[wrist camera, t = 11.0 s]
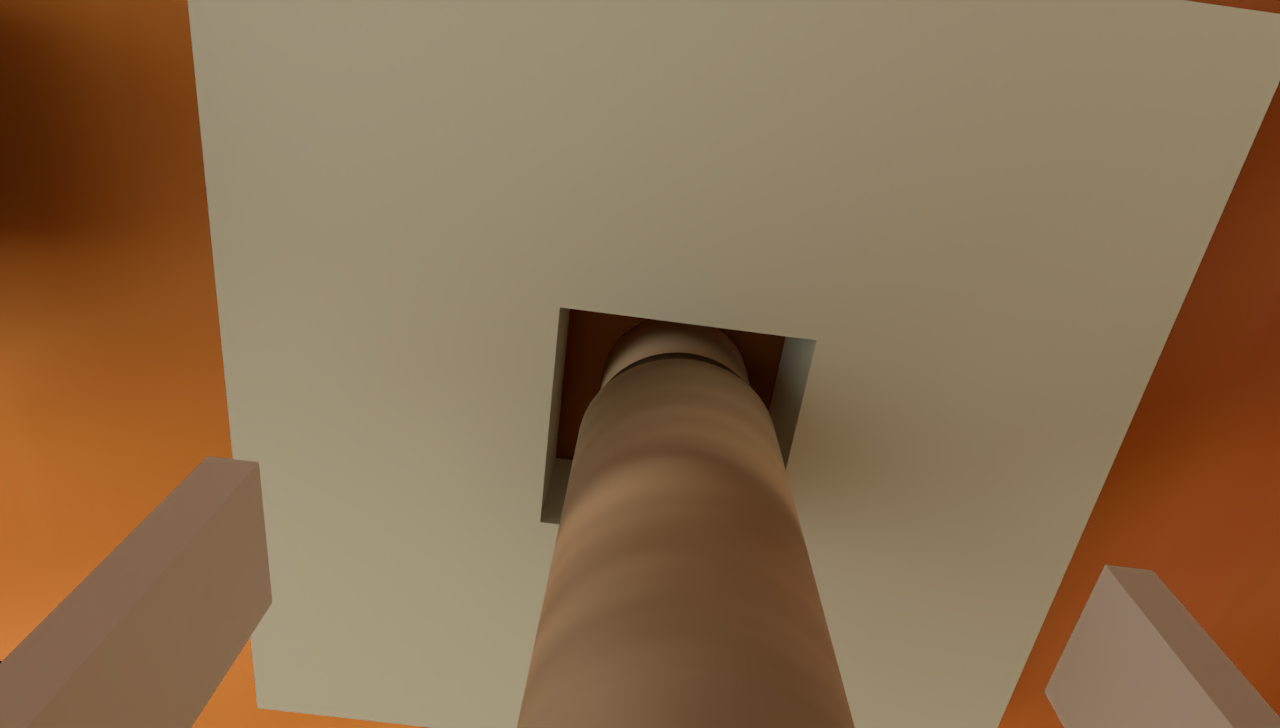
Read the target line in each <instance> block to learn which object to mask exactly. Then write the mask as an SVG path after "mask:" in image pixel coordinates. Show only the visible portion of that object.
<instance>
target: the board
mask: <svg viewBox="0 0 1280 728" xmlns="http://www.w3.org/2000/svg"><path fill="white" fill-rule="evenodd" d="M188 10H189V20H190V30H191V40H192V50H193V60H194V71H195V81H196V91H197V101H198V111H199V121H200V131H201V141H202V152H203V162H204V172H205V182H206V192H207V202H208V212H209V222H210V233H211V243H212V253H213V263H214V273H215V283H216V293H217V303H218V314H219V324H220V334H221V344H222V354H223V364H224V374H225V385H226V395H227V405H228V415H229V425H230V435H231V445H232V455H233V459H236V460H244V461H253V462H259V468H260V479H261V489H262V500H263V510H264V520H265V531H266V541H267V551H268V562H269V572H270V583H271V593H272V604H271V605H270V607H269V608H268V610H267V612H266V613H265V615H264V616H263V618H262V619H261V621H260V622H259V624H258V625H257V627H256V628H255V630H254V632H253V633H252V635H251V636H250V638H251V648H252V658H253V668H254V678H255V688H256V699H257V708H261V709H270V710H279V711H288V712H297V713H306V714H314V715H323V716H332V717H341V718H350V719H359V720H368V721H376V722H385V723H394V724H403V725H412V726H421V727H430V728H517V725H518V720H519V715H520V710H521V705H522V701H523V696H524V691H525V686H526V682H527V677H528V672H529V667H530V663H531V658H532V653H533V648H534V643H535V639H536V634H537V629H538V624H539V620H540V615H541V610H542V605H543V601H544V596H545V591H546V586H547V582H548V577H549V572H550V567H551V562H552V558H553V553H554V548H555V543H556V539H557V534H558V529H559V524H560V520H561V515H562V510H563V505H564V500H565V496H566V491H567V486H568V481H569V477H570V472H571V467H572V462H573V460H569V459H561V458H556V450H557V440H558V429H559V419H560V409H561V398H562V388H563V378H564V368H565V357H566V347H567V337H568V326H569V316H570V309H577V310H585V311H592V312H600V313H608V314H616V315H623V316H631V317H639V318H647V319H654V320H662V321H670V322H678V323H685V324H693V325H701V326H709V327H716V328H724V329H732V330H740V331H747V332H755V333H763V334H771V335H778V336H785V340H784V345H783V349H782V354H781V359H780V363H779V368H778V372H777V377H776V381H775V386H774V390H773V395H772V399H771V404H770V409H769V414H770V416H771V419H772V422H773V425H774V429H775V432H776V436H777V440H778V443H779V447H780V451H781V455H782V458H783V462H784V466H785V470H786V473H787V477H788V481H789V484H790V488H791V492H792V496H793V499H794V503H795V507H796V511H797V514H798V518H799V522H800V525H801V529H802V533H803V537H804V540H805V544H806V548H807V552H808V555H809V559H810V563H811V566H812V570H813V574H814V578H815V581H816V585H817V589H818V593H819V596H820V600H821V604H822V607H823V611H824V615H825V619H826V622H827V626H828V630H829V633H830V637H831V641H832V645H833V648H834V652H835V656H836V660H837V663H838V667H839V671H840V674H841V678H842V682H843V686H844V689H845V693H846V697H847V701H848V704H849V708H850V712H851V715H852V719H853V723H854V727H855V728H998V725H999V723H1000V721H1001V719H1002V716H1003V714H1004V712H1005V709H1006V707H1007V705H1008V703H1009V700H1010V698H1011V696H1012V693H1013V691H1014V689H1015V686H1016V684H1017V682H1018V680H1019V677H1020V675H1021V673H1022V670H1023V668H1024V666H1025V664H1026V661H1027V659H1028V657H1029V654H1030V652H1031V650H1032V648H1033V645H1034V643H1035V641H1036V638H1037V636H1038V634H1039V631H1040V629H1041V627H1042V625H1043V622H1044V620H1045V618H1046V615H1047V613H1048V611H1049V609H1050V606H1051V604H1052V602H1053V599H1054V597H1055V595H1056V593H1057V590H1058V588H1059V586H1060V583H1061V581H1062V579H1063V576H1064V574H1065V572H1066V570H1067V567H1068V565H1069V563H1070V560H1071V558H1072V556H1073V554H1074V551H1075V549H1076V547H1077V544H1078V542H1079V540H1080V538H1081V535H1082V533H1083V531H1084V528H1085V526H1086V524H1087V521H1088V519H1089V517H1090V515H1091V512H1092V510H1093V508H1094V505H1095V503H1096V501H1097V499H1098V496H1099V494H1100V492H1101V489H1102V487H1103V485H1104V483H1105V480H1106V478H1107V476H1108V473H1109V471H1110V469H1111V466H1112V464H1113V462H1114V460H1115V457H1116V455H1117V453H1118V450H1119V448H1120V446H1121V444H1122V441H1123V439H1124V437H1125V434H1126V432H1127V430H1128V428H1129V425H1130V423H1131V421H1132V418H1133V416H1134V414H1135V411H1136V409H1137V407H1138V405H1139V402H1140V400H1141V398H1142V395H1143V393H1144V391H1145V389H1146V386H1147V384H1148V382H1149V379H1150V377H1151V375H1152V373H1153V370H1154V368H1155V366H1156V363H1157V361H1158V359H1159V356H1160V354H1161V352H1162V350H1163V347H1164V345H1165V343H1166V340H1167V338H1168V336H1169V334H1170V331H1171V329H1172V327H1173V324H1174V322H1175V320H1176V318H1177V315H1178V313H1179V311H1180V308H1181V306H1182V304H1183V301H1184V299H1185V297H1186V295H1187V292H1188V290H1189V288H1190V285H1191V283H1192V281H1193V279H1194V276H1195V274H1196V272H1197V269H1198V267H1199V265H1200V263H1201V260H1202V258H1203V256H1204V253H1205V251H1206V249H1207V246H1208V244H1209V242H1210V240H1211V237H1212V235H1213V233H1214V230H1215V228H1216V226H1217V224H1218V221H1219V219H1220V217H1221V214H1222V212H1223V210H1224V208H1225V205H1226V203H1227V201H1228V198H1229V196H1230V194H1231V191H1232V189H1233V187H1234V185H1235V182H1236V180H1237V178H1238V175H1239V173H1240V171H1241V169H1242V166H1243V164H1244V162H1245V159H1246V157H1247V155H1248V153H1249V150H1250V148H1251V146H1252V143H1253V141H1254V139H1255V136H1256V134H1257V132H1258V130H1259V127H1260V125H1261V123H1262V120H1263V118H1264V116H1265V114H1266V111H1267V109H1268V107H1269V104H1270V102H1271V100H1272V98H1273V95H1274V93H1275V91H1276V88H1277V86H1278V84H1279V81H1280V14H1276V13H1269V12H1262V11H1255V10H1248V9H1241V8H1234V7H1228V6H1221V5H1214V4H1207V3H1200V2H1193V1H1186V0H188Z"/></svg>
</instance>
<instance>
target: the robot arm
mask: <svg viewBox="0 0 1280 728" xmlns="http://www.w3.org/2000/svg"><path fill="white" fill-rule="evenodd" d="M271 604H272V593H271V583H270V572H269V562H268V551H267V541H266V531H265V520H264V510H263V500H262V489H261V479H260V468H259V462H253V461H244V460H236V459H228V458H220V457H211V456H207V457H206V458H205V459H204V460H203V461H202V462H201V463H200V464H199V465H198V466H197V467H196V468H195V469H194V470H193V471H192V472H191V473H190V474H189V475H188V476H187V477H186V478H185V479H184V480H183V481H182V482H181V483H180V484H179V485H178V486H177V487H176V488H175V489H174V490H173V491H172V492H171V493H170V494H169V495H168V496H167V497H166V498H165V499H164V500H163V501H162V502H161V503H160V504H159V505H158V506H157V507H156V508H155V509H154V510H153V511H152V512H151V513H150V514H149V515H148V516H147V517H146V518H145V519H144V520H143V521H142V522H141V523H140V524H139V525H138V526H137V527H136V528H135V529H134V530H133V531H132V532H131V533H130V534H129V535H128V536H127V537H126V538H125V539H124V540H123V541H122V542H121V543H120V544H119V545H118V546H117V547H116V548H115V549H114V550H113V551H112V552H111V553H110V554H109V555H108V556H107V557H106V558H105V559H104V560H103V561H102V562H101V563H100V564H99V565H98V566H97V567H96V568H95V569H94V570H93V571H92V572H91V573H90V574H89V575H88V576H87V577H86V578H85V579H84V580H83V581H82V582H81V583H80V584H79V585H78V586H77V587H76V588H75V589H74V590H73V591H72V592H71V593H70V594H69V595H68V596H67V597H66V598H65V599H64V600H63V601H62V602H61V603H60V604H59V605H58V606H57V607H56V608H55V609H54V610H53V611H52V612H51V613H50V614H49V615H48V616H47V617H46V618H45V619H44V620H43V621H42V622H41V623H40V624H39V625H38V626H37V627H36V628H35V629H34V630H33V631H32V632H31V633H30V634H29V635H28V636H27V637H26V638H25V639H24V640H23V641H22V642H21V643H20V644H19V645H18V646H17V647H16V648H15V649H14V650H13V651H12V652H11V653H10V654H9V655H8V656H7V657H6V658H5V659H4V660H3V661H0V728H191V727H192V726H193V724H194V722H195V721H196V719H197V718H198V716H199V715H200V713H201V712H202V710H203V709H204V707H205V705H206V704H207V702H208V701H209V699H210V698H211V696H212V695H213V693H214V692H215V690H216V689H217V687H218V685H219V684H220V682H221V681H222V679H223V678H224V676H225V675H226V673H227V672H228V670H229V669H230V667H231V665H232V664H233V662H234V661H235V659H236V658H237V656H238V655H239V653H240V652H241V650H242V648H243V647H244V645H245V644H246V642H247V641H248V639H249V638H250V636H251V635H252V633H253V632H254V630H255V628H256V627H257V625H258V624H259V622H260V621H261V619H262V618H263V616H264V615H265V613H266V612H267V610H268V608H269V607H270V605H271ZM1044 693H1045V694H1046V696H1047V698H1048V700H1049V702H1050V704H1051V705H1052V707H1053V709H1054V711H1055V713H1056V714H1057V716H1058V718H1059V720H1060V722H1061V723H1062V725H1063V727H1064V728H1280V717H1279V716H1278V715H1277V714H1276V712H1275V711H1274V710H1273V709H1272V708H1271V707H1270V706H1269V704H1268V703H1267V702H1266V701H1265V700H1264V699H1263V697H1262V696H1261V695H1260V694H1259V693H1258V692H1257V690H1256V689H1255V688H1254V687H1253V686H1252V685H1251V684H1250V682H1249V681H1248V680H1247V679H1246V678H1245V677H1244V675H1243V674H1242V673H1241V672H1240V671H1239V670H1238V668H1237V667H1236V666H1235V665H1234V664H1233V663H1232V662H1231V660H1230V659H1229V658H1228V657H1227V656H1226V655H1225V653H1224V652H1223V651H1222V650H1221V649H1220V648H1219V646H1218V645H1217V644H1216V643H1215V642H1214V641H1213V639H1212V638H1211V637H1210V636H1209V635H1208V634H1207V633H1206V631H1205V630H1204V629H1203V628H1202V627H1201V626H1200V624H1199V623H1198V622H1197V621H1196V620H1195V619H1194V617H1193V616H1192V615H1191V614H1190V613H1189V612H1188V611H1187V609H1186V608H1185V607H1184V606H1183V605H1182V604H1181V602H1180V601H1179V600H1178V599H1177V598H1176V597H1175V595H1174V594H1173V593H1172V592H1171V591H1170V590H1169V589H1168V587H1167V586H1166V585H1165V584H1164V583H1163V582H1162V580H1161V579H1160V578H1159V577H1158V576H1157V575H1156V573H1155V572H1154V571H1153V570H1146V569H1137V568H1129V567H1121V566H1113V565H1105V566H1104V568H1103V570H1102V572H1101V574H1100V576H1099V578H1098V580H1097V583H1096V585H1095V587H1094V589H1093V591H1092V593H1091V595H1090V597H1089V599H1088V601H1087V603H1086V605H1085V607H1084V609H1083V612H1082V614H1081V616H1080V618H1079V620H1078V622H1077V624H1076V626H1075V628H1074V630H1073V632H1072V634H1071V636H1070V638H1069V641H1068V643H1067V645H1066V647H1065V649H1064V651H1063V653H1062V655H1061V657H1060V659H1059V661H1058V663H1057V665H1056V667H1055V670H1054V672H1053V674H1052V676H1051V678H1050V680H1049V682H1048V684H1047V686H1046V688H1045V690H1044Z"/></svg>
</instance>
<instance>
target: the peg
mask: <svg viewBox="0 0 1280 728" xmlns="http://www.w3.org/2000/svg"><path fill="white" fill-rule="evenodd" d="M517 728H855V727H854V723H853V719H852V715H851V712H850V708H849V704H848V701H847V697H846V693H845V689H844V686H843V682H842V678H841V674H840V671H839V667H838V663H837V660H836V656H835V652H834V648H833V645H832V641H831V637H830V633H829V630H828V626H827V622H826V619H825V615H824V611H823V607H822V604H821V600H820V596H819V593H818V589H817V585H816V581H815V578H814V574H813V570H812V566H811V563H810V559H809V555H808V552H807V548H806V544H805V540H804V537H803V533H802V529H801V525H800V522H799V518H798V514H797V511H796V507H795V503H794V499H793V496H792V492H791V488H790V484H789V481H788V477H787V473H786V470H785V466H784V462H783V458H782V455H781V451H780V447H779V443H778V440H777V436H776V432H775V429H774V425H773V422H772V419H771V416H770V414H769V412H768V410H767V408H766V406H765V404H764V403H763V401H762V400H761V398H760V397H759V396H758V395H757V393H756V392H755V391H754V390H753V389H752V388H751V387H750V383H749V378H748V374H747V370H746V366H745V363H744V360H743V357H742V355H741V353H740V351H739V350H738V348H737V347H736V345H735V344H734V342H733V341H732V340H731V339H730V338H729V337H728V336H727V335H726V334H725V333H723V332H722V331H721V330H719V329H718V328H716V327H709V326H701V325H693V324H685V323H678V322H670V321H662V320H654V319H652V320H649V321H646V322H644V323H642V324H639V325H637V326H636V327H634V328H633V329H631V330H630V331H628V332H627V333H626V334H625V335H623V336H622V337H621V338H620V340H619V341H618V342H617V343H616V344H615V346H614V347H613V348H612V350H611V352H610V354H609V356H608V358H607V360H606V363H605V366H604V371H603V376H602V382H601V388H600V391H599V392H598V393H597V394H596V396H595V397H594V399H593V400H592V401H591V403H590V404H589V406H588V408H587V410H586V412H585V414H584V416H583V419H582V422H581V425H580V429H579V434H578V439H577V443H576V448H575V453H574V458H573V462H572V467H571V472H570V477H569V481H568V486H567V491H566V496H565V500H564V505H563V510H562V515H561V520H560V524H559V529H558V534H557V539H556V543H555V548H554V553H553V558H552V562H551V567H550V572H549V577H548V582H547V586H546V591H545V596H544V601H543V605H542V610H541V615H540V620H539V624H538V629H537V634H536V639H535V643H534V648H533V653H532V658H531V663H530V667H529V672H528V677H527V682H526V686H525V691H524V696H523V701H522V705H521V710H520V715H519V720H518V725H517Z"/></svg>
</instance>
